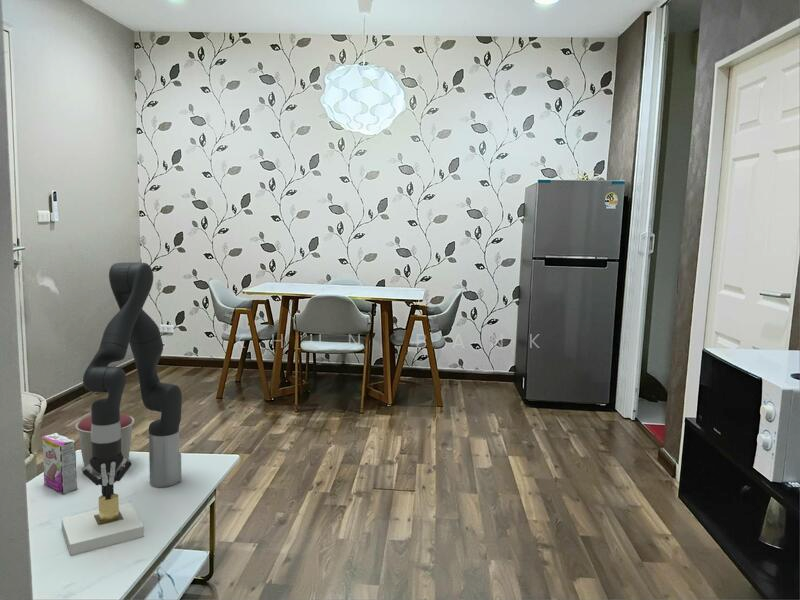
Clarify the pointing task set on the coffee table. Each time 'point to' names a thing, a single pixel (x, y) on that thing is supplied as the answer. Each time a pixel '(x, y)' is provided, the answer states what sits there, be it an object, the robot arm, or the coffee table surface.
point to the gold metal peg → (108, 509)
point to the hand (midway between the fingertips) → (107, 496)
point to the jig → (100, 530)
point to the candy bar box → (59, 463)
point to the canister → (85, 438)
